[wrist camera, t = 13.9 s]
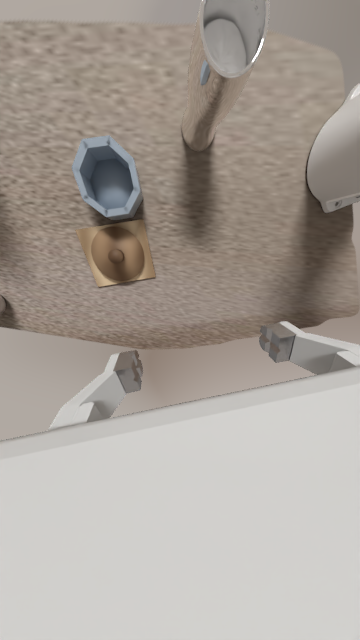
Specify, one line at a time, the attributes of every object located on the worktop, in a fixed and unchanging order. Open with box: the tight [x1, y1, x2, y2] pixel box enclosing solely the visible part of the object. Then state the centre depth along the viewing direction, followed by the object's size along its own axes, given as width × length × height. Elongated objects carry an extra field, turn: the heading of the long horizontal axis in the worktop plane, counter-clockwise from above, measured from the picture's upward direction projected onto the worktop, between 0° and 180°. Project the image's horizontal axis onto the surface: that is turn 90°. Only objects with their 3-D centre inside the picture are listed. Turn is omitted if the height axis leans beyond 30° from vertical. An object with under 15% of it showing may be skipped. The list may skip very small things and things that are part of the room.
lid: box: [91, 226, 144, 281], centre depth 33 cm, size 11×11×4 cm
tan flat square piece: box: [75, 219, 156, 287], centre depth 35 cm, size 14×12×1 cm
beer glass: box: [182, 0, 269, 151], centre depth 21 cm, size 7×7×15 cm
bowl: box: [72, 136, 143, 220], centre depth 27 cm, size 10×10×5 cm
